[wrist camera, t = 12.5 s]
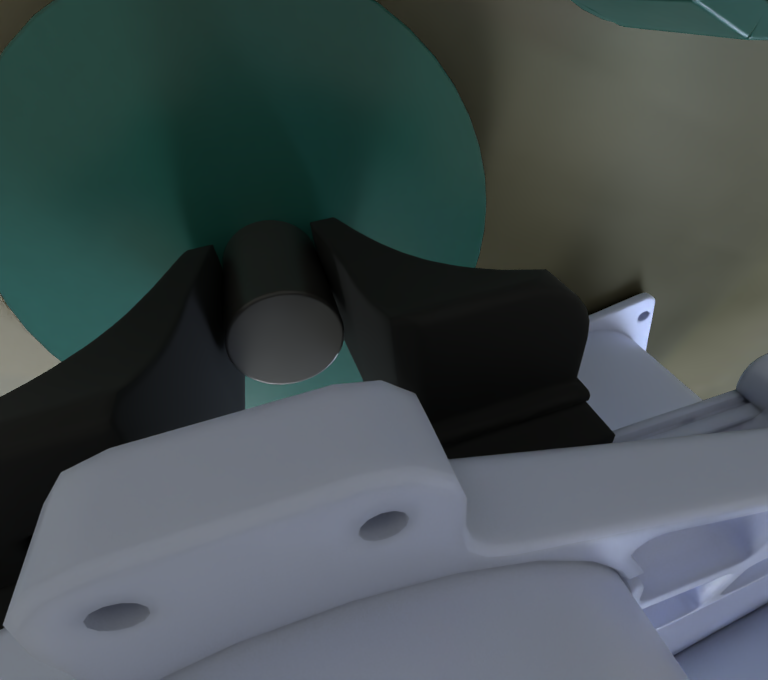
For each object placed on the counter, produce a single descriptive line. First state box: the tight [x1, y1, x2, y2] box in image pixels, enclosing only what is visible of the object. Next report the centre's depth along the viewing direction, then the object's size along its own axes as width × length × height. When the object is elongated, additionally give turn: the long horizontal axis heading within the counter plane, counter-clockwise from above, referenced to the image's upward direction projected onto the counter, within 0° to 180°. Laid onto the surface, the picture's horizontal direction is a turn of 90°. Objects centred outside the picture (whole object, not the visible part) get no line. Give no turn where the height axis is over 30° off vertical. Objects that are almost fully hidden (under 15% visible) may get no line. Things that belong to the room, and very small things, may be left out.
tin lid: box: [0, 0, 486, 409], centre depth 11 cm, size 12×12×4 cm
